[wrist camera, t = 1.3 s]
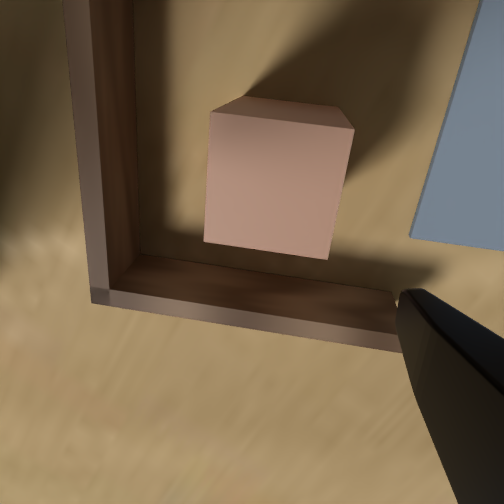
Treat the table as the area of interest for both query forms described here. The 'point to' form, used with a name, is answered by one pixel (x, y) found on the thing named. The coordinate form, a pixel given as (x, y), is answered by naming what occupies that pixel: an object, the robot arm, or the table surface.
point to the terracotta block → (276, 175)
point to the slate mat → (470, 146)
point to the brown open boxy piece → (127, 215)
